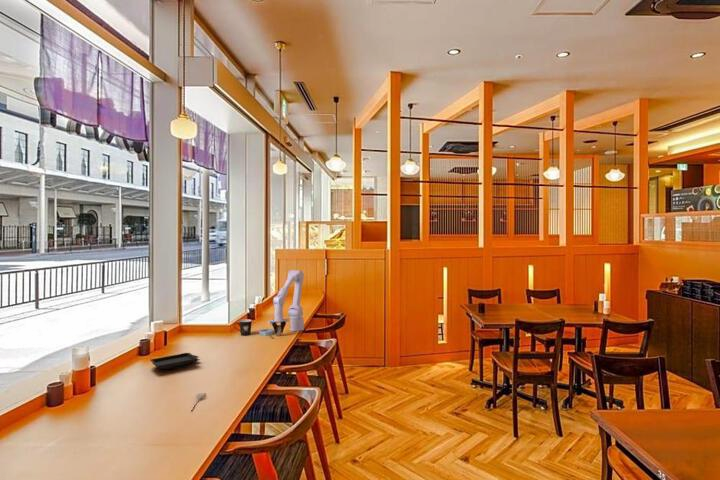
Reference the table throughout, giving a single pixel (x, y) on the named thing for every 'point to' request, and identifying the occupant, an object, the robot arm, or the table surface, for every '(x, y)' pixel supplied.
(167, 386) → the table surface
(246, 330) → the coffee mug
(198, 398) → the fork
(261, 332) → the bead ring
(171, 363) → the tray
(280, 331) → the needle dowel
